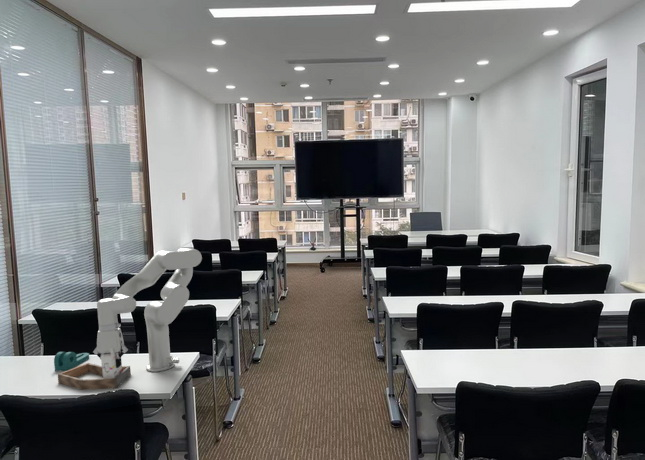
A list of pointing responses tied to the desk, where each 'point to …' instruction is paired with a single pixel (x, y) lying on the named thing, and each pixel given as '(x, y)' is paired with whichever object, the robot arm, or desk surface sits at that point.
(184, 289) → the robot arm
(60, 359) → the bracket
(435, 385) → the desk surface
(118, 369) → the ink cartridge box
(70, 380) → the brown angled open frame
